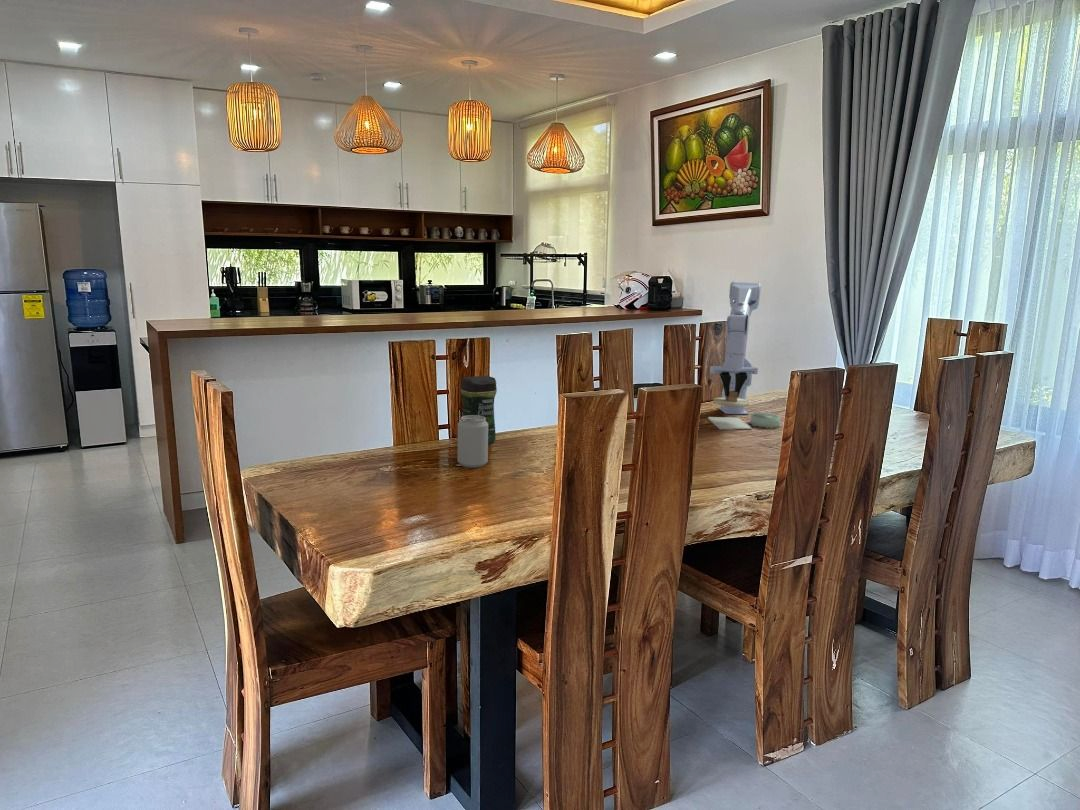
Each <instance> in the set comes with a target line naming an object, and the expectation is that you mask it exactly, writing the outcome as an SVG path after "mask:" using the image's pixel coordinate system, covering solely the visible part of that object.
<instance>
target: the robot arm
mask: <svg viewBox="0 0 1080 810" xmlns="http://www.w3.org/2000/svg"><path fill="white" fill-rule="evenodd" d="M761 289H762V284H761V283H760V282H758V281H757V282H746V281H742V282H741V281H733V280H732V281H731V282H730V285H729V297H728V298H729V305H730V308H731V309H730V314H729V315H727V318H726V325H725V326H726V327H725V329H726V344H725V345H726V347H725V357H724V362H723V364H722V365H717V366H715V365H713V366H712V365H711V366H710V367H709V373H710V374H719V376H720V379H721V384H722V385H723V388H722V391H721V397H729V390H735V391H736V392H738V396H737V398H740V399H745V400H747V391H748V387H750V386H751V385H752V381H753V375H758V370H759V368H758V367H754V366H753V364H752V362H751V361H750V360H749V359H747V358H746V356H747V355H746V354H747V344H748V333H749V328H750V327H749V326H750V316H751V315H752V312H753V311H755V310H756V309H758V307H759V306H760V297H761ZM717 408H718V409H719V410H720V411H721V412H723V414H725V415H749V412H748V411H747V410H746V406H742V407H733V406H724V405H720V406H718V407H717Z"/></svg>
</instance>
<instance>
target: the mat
mask: <svg viewBox="0 0 1080 810" xmlns="http://www.w3.org/2000/svg"><path fill="white" fill-rule="evenodd" d="M707 420H708V421H709V422H711V423H712V424H713V425H714V426H715V427H717V429H719V430H735V429H752V430H753V427H751V425H749V424H747V423H746V422H745V421H743V420H742V419H741V418H739V417H735V416H733V417H730V416H729V417H728V416H727V417H725V416H723V417H722V416H720V417H719V416H718V417H717V416H707Z"/></svg>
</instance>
